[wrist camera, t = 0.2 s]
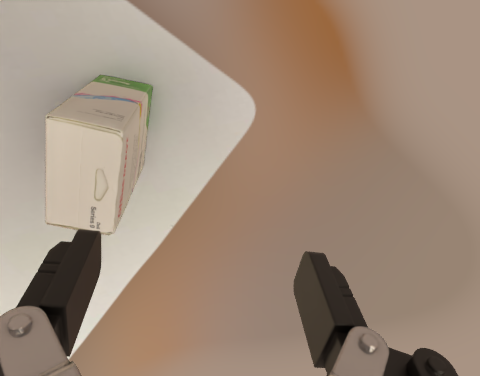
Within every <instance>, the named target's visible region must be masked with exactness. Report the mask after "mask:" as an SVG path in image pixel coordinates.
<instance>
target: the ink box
mask: <svg viewBox="0 0 480 376" xmlns="http://www.w3.org/2000/svg"><path fill="white" fill-rule="evenodd" d="M152 90H153V86H151V85H148V84H144V83H139V82H134V81H129V80H124V79H120V78H115V77H110V76H105V75H99V76H98V77H97V78H96V79H95V80H93V81H92V82H90V83H89V84H88V85H86V86H85V87H84V88H82V89H81V90H80V91H78V92H77V93H75V94H74V95H73V96H71V97H70V98H69V99H67V100H66V101H65V102H63V103H62V104H61V105H59V106H58V107H57V108H55V109H54V110H53V111H51V112H50V113H49V114H47V115H46V116H45V120H46V121H45V125H46V156H45V216H46V219H45V222H46V224H48V225H54V226H59V227H63V228H69V229H74V230H79V229H85V230H95V231H100V232H101V234H105V235H110V234H114V233H115V230H116V228H117V226H118V224H119V221H120V219H121V217H122V215H123V213H124V210H125V208H126V206H127V203H128V201H129V199H130V196H131V194H132V192H133V189H134V187H135V185H136V182H137V180H138V178H139V175H140V173H141V171H142V168H143V165H144V156H145V147H146V138H147V129H148V121H149V113H150V104H151V96H152Z"/></svg>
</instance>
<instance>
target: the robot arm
mask: <svg viewBox="0 0 480 376" xmlns="http://www.w3.org/2000/svg"><path fill="white" fill-rule="evenodd" d="M100 269H101V232H100V231H95V230H85V229H79V230H78V231H77V233H76V234H75V236H74V238H73V240H72V242H62V241H61V242H60V243H58V244H57V245H56V246H55V247H53V248H52V249H51V250H49V252H48V254H47V256H46V257H45V259H44V261H43V263H42V264H41V266H40V268H39V269H38V272H37V273H36V274H35V276H34V278H33V280H32V281H31V283H30V285H29V286H28V288H27V290H26V292H25V293H24V295H23V297H22V298H21V300H20V302H19V304H18V305H17V307H16V308H14V309H12V310H10V311H8V312H6V313H4V314H3V315H2V316H0V376H81V374H80V372H79V370H78V368H77V366H76V364H75V363H74V362H69V360H68V358H67V356H70V354H71V352H72V349H73V346H74V343H75V341H76V338H77V335H78V333H79V330H80V327H81V324H82V322H83V319H84V316H85V313H86V311H87V308H88V305H89V303H90V300H91V297H92V294H93V292H94V289H95V286H96V283H97V281H98V278H99V274H100ZM294 295H295V299H296V302H297V305H298V309H299V313H300V317H301V320H302V324H303V328H304V331H305V335H306V338H307V342H308V346H309V349H310V353H311V357H312V360H313V364H314V367H317V368H325V369H326V372H327V376H458V375H457V373H456V371H455V369H454V368H453V366H452V365H451V364H450V362H449V361H448V360H447V359H446V358H444V357H443V356H442V355H440V354H439V353H437V352H436V351H433V350H430V349H427V348H420V349H417V350H416V351H415V352H414V354H413V355H412V356H411V355H409V354H406V353H403V352H400V351H397V350H394V349H392V348H389V347H388V346H387V343H386V342H385V340H384V339H383V338H382V337H381V336H380V335H379V334H378V333H376V332H375V331H373V330H371V329H369V328H368V326H367V324H366V322H365V320H364V318H363V316H362V314H361V312H360V309H359V307H358V305H357V303H356V300H355V298H354V297H353V294H352V292H351V290H350V289H349V285H348V283H347V281H346V279H345V277H344V276H343V274H342V273H341V272H340V271H339V270H338V269H337V268H336V267H333V266H330V265H329V262H328V260H327V258H326V255H325V254H324V253H316V252H305V253H304V254H303V257H302V259H301V262H300V265H299V268H298V271H297V273H296V276H295V279H294Z"/></svg>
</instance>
